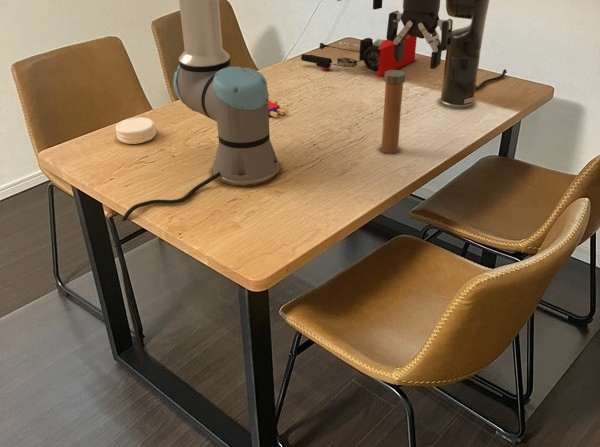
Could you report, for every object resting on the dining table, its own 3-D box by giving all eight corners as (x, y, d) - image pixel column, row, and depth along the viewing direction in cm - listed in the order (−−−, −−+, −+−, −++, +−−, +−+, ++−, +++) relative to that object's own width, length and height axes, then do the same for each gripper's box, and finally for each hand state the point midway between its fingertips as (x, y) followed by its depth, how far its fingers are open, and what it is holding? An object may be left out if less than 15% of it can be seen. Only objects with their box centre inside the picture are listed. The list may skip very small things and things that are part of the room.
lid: (380, 80, 145) (380, 73, 144) (393, 75, 148) (393, 68, 147) (395, 85, 142) (396, 78, 141) (408, 80, 145) (409, 73, 144)
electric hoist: (300, 34, 205) (379, 49, 190) (342, 21, 224) (417, 33, 209) (299, 65, 210) (376, 81, 195) (341, 49, 229) (414, 63, 214)
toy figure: (289, 106, 174) (261, 93, 181) (270, 113, 170) (242, 99, 177) (289, 115, 175) (261, 101, 182) (270, 121, 171) (243, 107, 178)
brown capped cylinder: (378, 149, 155) (382, 75, 144) (388, 144, 157) (393, 70, 147) (390, 154, 152) (396, 79, 142) (401, 149, 154) (407, 75, 144)
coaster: (128, 148, 157) (126, 135, 155) (110, 136, 163) (108, 123, 162) (163, 136, 162) (161, 124, 161) (144, 125, 169) (142, 113, 167)
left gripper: (410, -82, 149) (403, 9, 160) (338, -89, 165) (337, -6, 176) (388, -79, 145) (383, 15, 156) (317, -87, 161) (317, -2, 172)
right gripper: (463, -13, 125) (453, 66, 134) (401, -21, 132) (396, 54, 141) (446, -6, 120) (437, 75, 129) (383, -15, 127) (378, 63, 136)
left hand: (358, 4), depth 166 cm, fingers open, 13 cm apart
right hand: (416, 64), depth 135 cm, fingers open, 8 cm apart
